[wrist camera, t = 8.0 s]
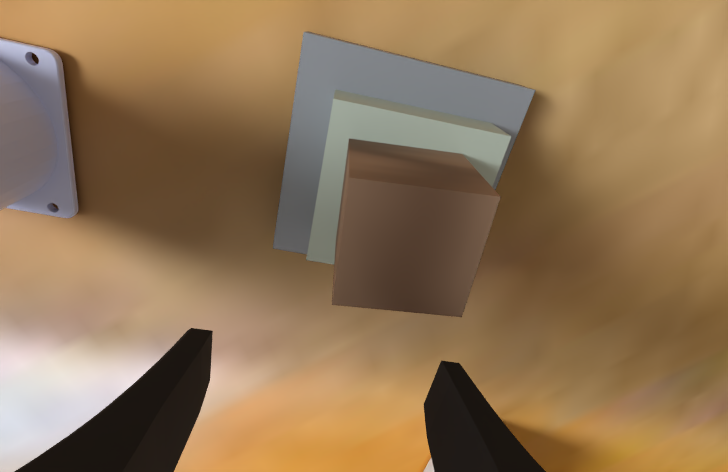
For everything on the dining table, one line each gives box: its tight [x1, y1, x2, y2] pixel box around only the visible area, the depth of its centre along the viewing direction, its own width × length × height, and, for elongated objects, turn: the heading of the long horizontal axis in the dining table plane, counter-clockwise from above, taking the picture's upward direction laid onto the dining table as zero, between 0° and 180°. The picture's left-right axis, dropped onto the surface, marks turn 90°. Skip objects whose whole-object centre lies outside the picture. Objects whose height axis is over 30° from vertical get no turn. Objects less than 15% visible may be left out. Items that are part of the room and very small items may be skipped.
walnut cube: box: [332, 138, 501, 317], centre depth 15 cm, size 4×4×4 cm
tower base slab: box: [273, 32, 535, 254], centre depth 20 cm, size 10×10×2 cm
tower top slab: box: [306, 89, 511, 264], centre depth 18 cm, size 7×7×2 cm
